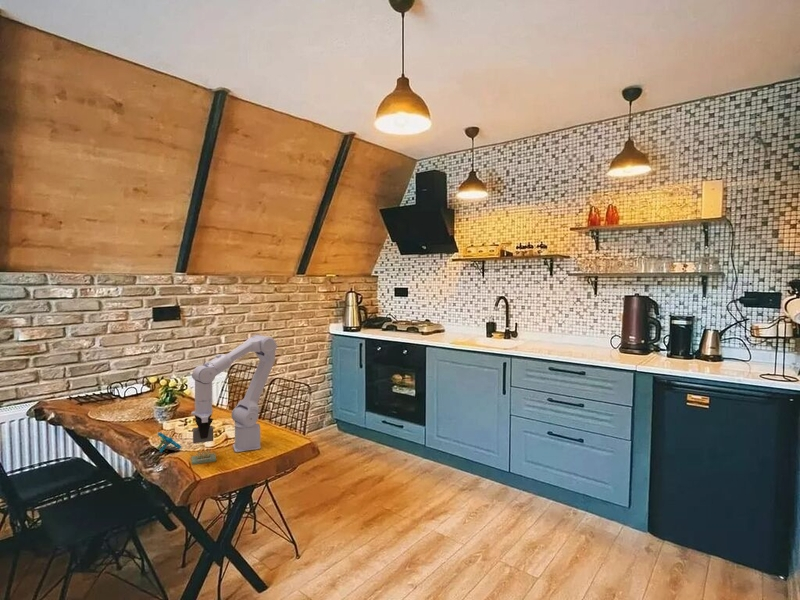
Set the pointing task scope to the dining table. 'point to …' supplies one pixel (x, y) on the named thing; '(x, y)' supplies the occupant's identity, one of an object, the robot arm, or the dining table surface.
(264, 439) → the dining table surface
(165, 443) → the teal plastic t-shaped piece
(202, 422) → the robot arm
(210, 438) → the plug housing
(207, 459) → the header board
